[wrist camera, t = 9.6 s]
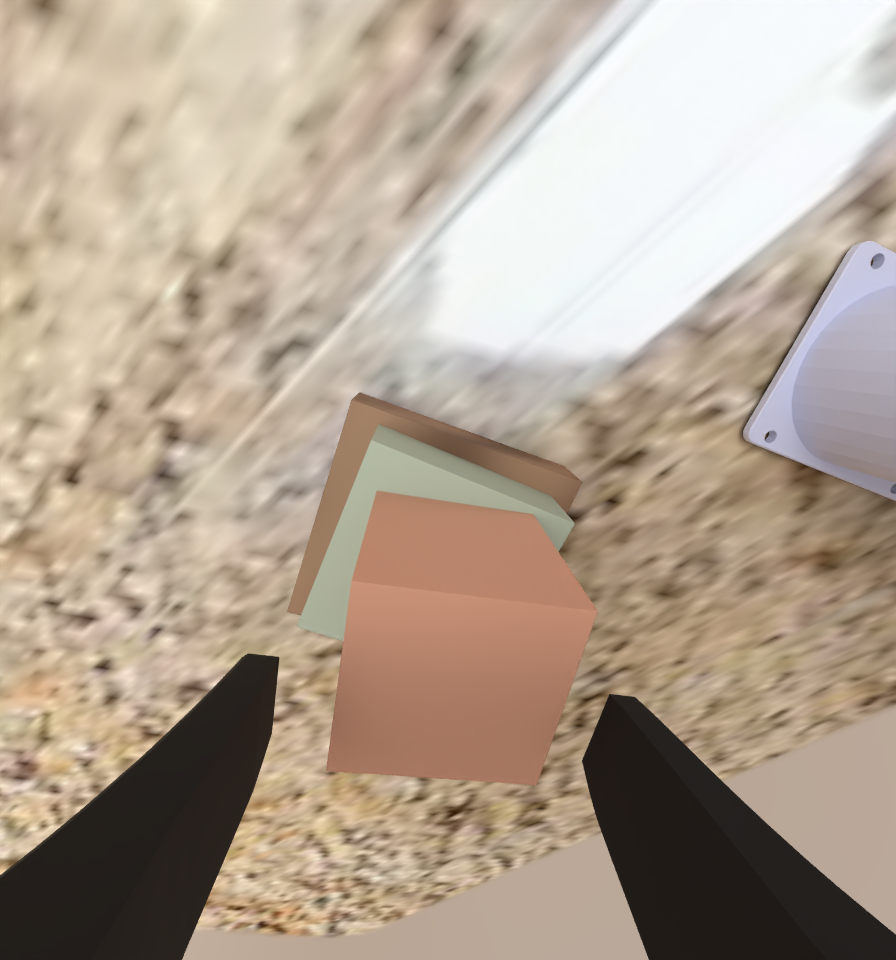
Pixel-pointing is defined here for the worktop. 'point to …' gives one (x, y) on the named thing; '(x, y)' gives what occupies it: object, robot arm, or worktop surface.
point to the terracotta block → (455, 644)
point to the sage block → (420, 474)
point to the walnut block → (427, 430)
